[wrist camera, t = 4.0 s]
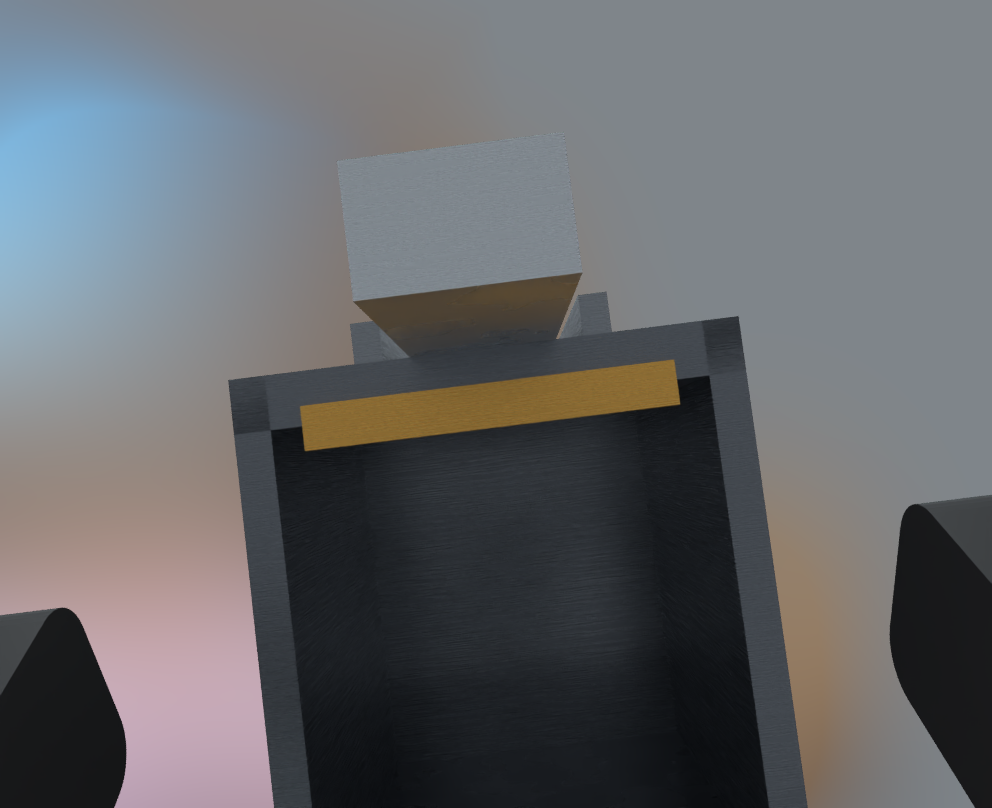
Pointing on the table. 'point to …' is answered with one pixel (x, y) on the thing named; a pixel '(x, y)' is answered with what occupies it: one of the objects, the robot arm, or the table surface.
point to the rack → (517, 575)
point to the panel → (463, 243)
